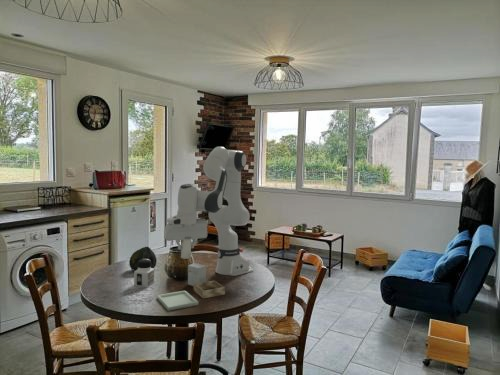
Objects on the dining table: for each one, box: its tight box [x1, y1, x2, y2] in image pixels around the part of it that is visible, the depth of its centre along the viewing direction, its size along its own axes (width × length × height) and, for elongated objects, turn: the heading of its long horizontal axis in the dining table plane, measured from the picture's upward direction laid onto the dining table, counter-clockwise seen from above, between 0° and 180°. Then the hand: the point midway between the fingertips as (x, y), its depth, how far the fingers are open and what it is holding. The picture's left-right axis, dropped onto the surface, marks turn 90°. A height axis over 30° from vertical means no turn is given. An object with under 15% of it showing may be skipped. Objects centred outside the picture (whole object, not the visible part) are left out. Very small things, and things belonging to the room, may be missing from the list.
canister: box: [180, 237, 192, 260], centre depth 171 cm, size 5×5×10 cm
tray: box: [156, 290, 199, 312], centre depth 170 cm, size 14×16×2 cm
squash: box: [128, 246, 158, 271], centre depth 215 cm, size 14×15×15 cm
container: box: [133, 259, 155, 288], centre depth 192 cm, size 8×8×13 cm
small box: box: [187, 262, 207, 287], centre depth 193 cm, size 8×6×10 cm
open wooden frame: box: [193, 280, 226, 299], centre depth 183 cm, size 12×12×4 cm
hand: (185, 248), depth 171 cm, fingers closed on canister, 4 cm apart
